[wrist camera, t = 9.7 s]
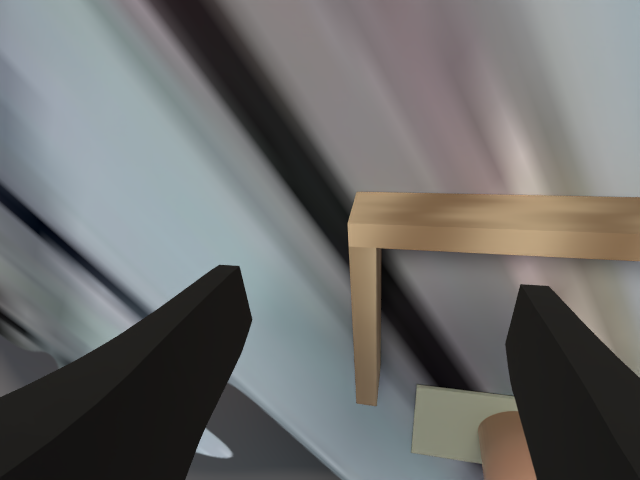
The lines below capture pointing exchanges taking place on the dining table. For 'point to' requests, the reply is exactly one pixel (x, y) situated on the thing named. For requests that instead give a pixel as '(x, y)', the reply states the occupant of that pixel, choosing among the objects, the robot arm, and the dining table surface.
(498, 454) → the terracotta pot
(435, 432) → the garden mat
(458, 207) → the tan wooden bent bar
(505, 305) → the dining table surface
